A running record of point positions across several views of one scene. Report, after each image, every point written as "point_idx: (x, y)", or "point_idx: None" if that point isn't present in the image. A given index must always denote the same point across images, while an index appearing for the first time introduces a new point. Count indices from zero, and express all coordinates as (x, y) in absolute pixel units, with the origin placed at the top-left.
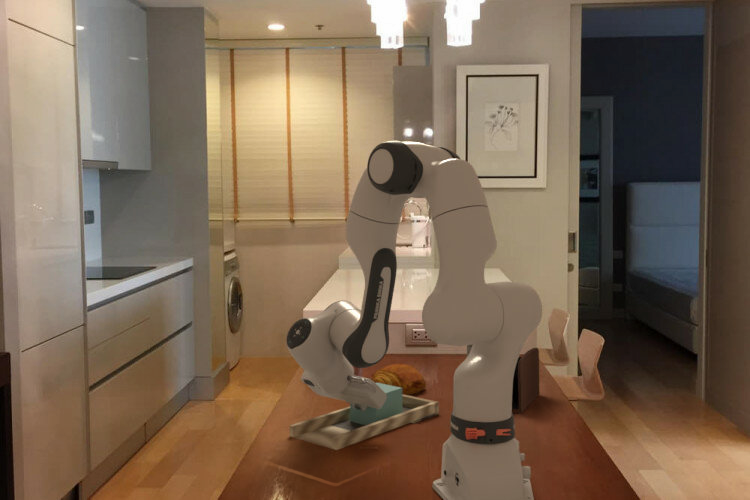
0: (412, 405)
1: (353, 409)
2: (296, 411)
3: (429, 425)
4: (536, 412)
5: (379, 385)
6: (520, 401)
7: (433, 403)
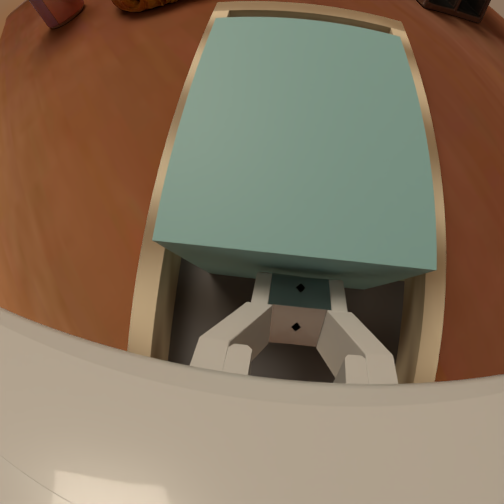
0: None
1: (218, 267)
2: (6, 254)
3: (453, 138)
4: (483, 17)
5: (265, 39)
6: (486, 8)
7: (404, 34)
